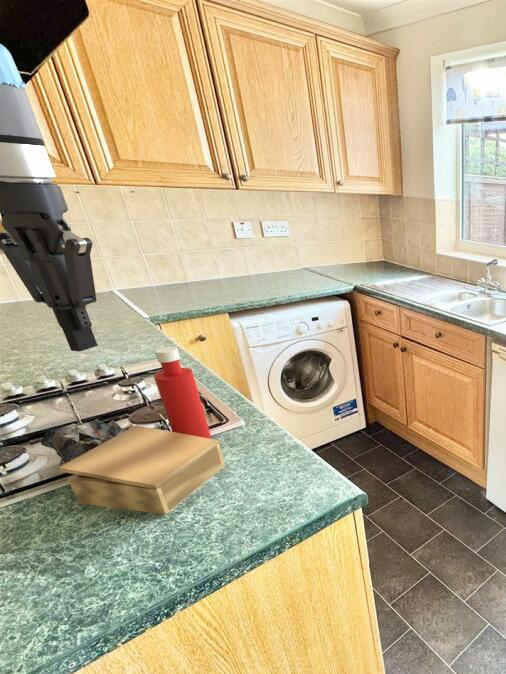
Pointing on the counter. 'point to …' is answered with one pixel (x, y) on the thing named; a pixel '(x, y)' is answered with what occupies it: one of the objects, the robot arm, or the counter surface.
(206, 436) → the ketchup bottle
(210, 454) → the chest
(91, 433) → the foil
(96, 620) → the counter surface
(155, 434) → the chest lid
